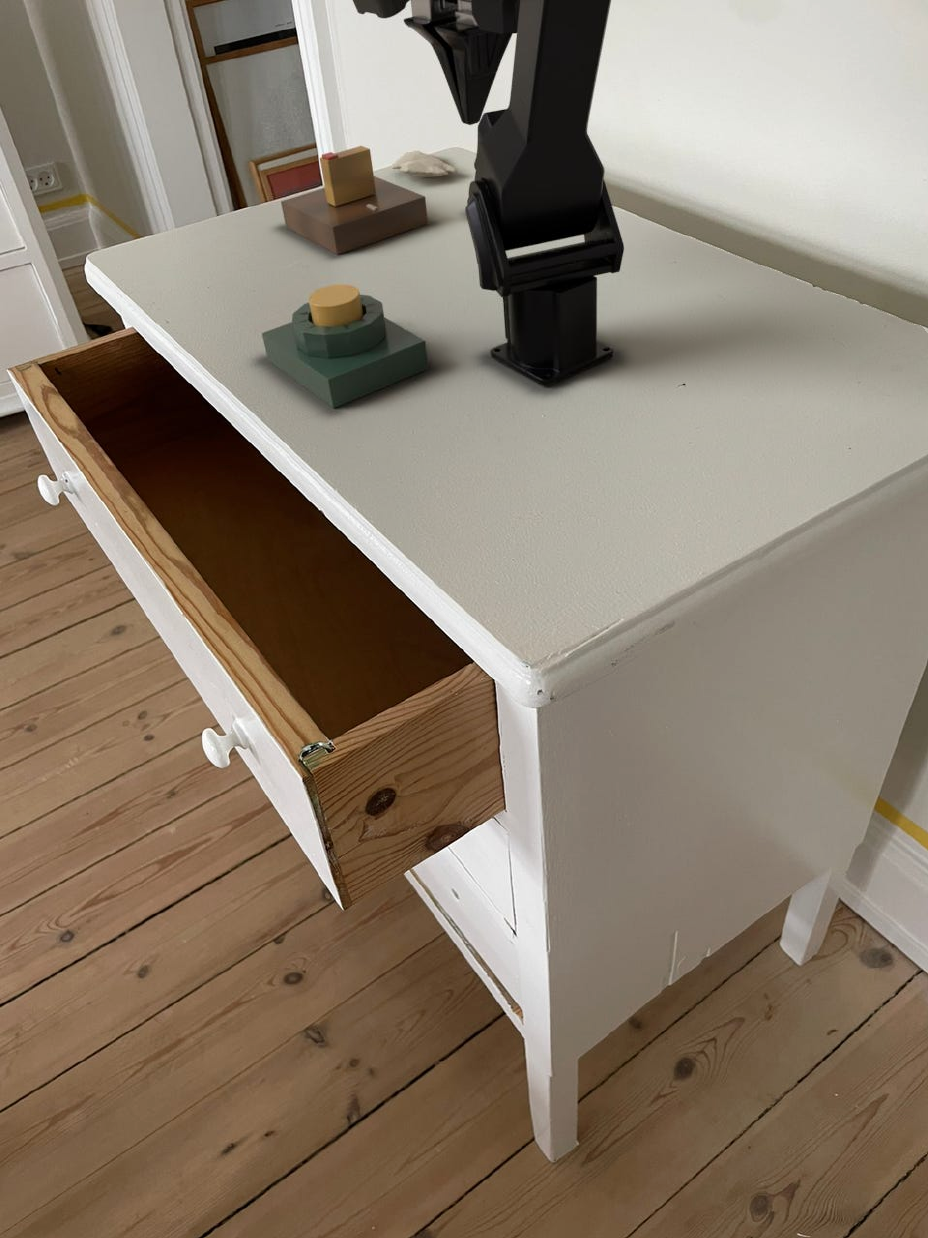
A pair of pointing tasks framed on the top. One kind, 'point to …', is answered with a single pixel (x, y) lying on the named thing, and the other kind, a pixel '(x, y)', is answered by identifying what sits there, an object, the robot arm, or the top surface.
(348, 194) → the red-tipped wooden block
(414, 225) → the lock plate
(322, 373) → the box
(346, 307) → the release button
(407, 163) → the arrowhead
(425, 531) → the top surface
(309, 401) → the top surface
